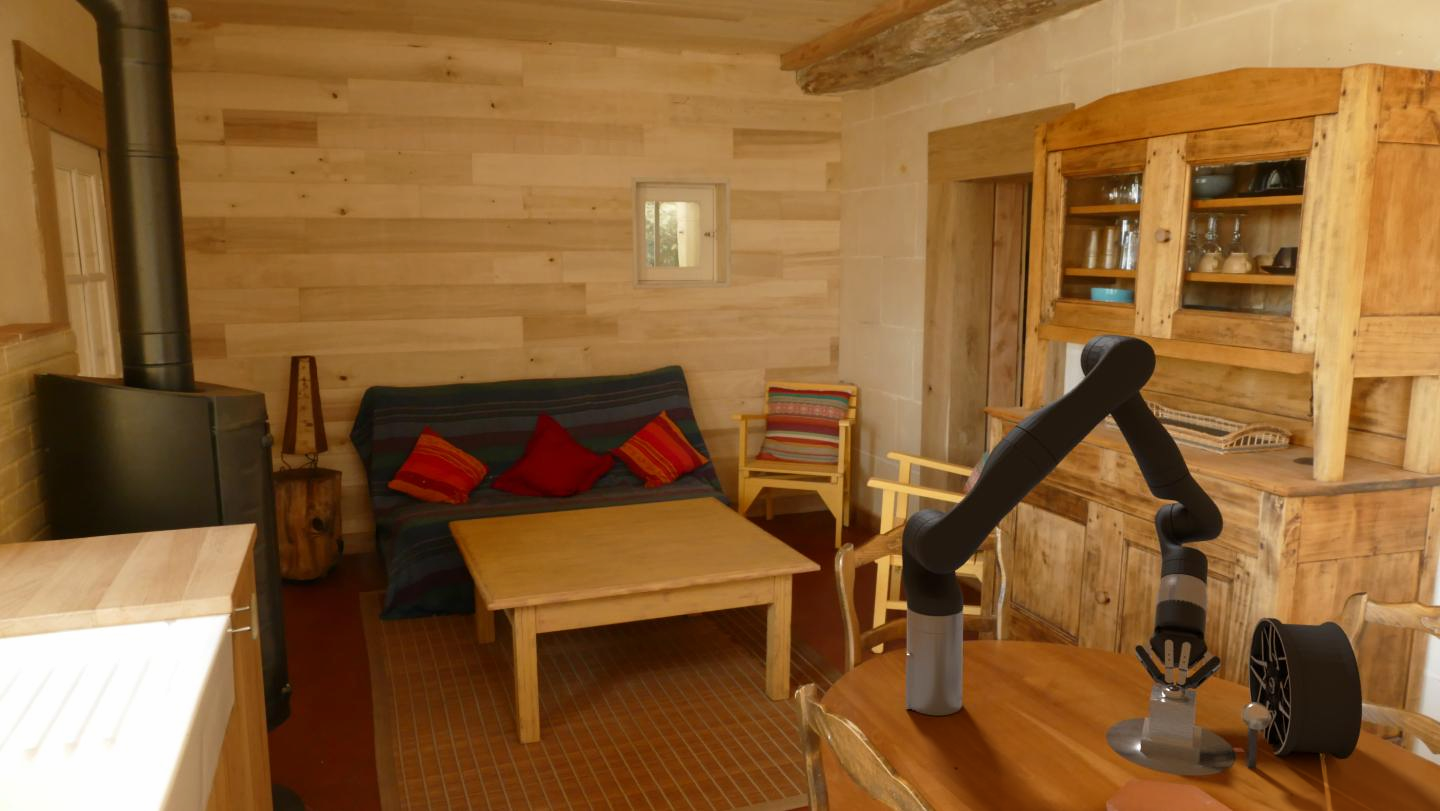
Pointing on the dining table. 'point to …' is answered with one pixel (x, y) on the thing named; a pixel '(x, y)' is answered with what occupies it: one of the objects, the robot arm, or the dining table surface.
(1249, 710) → the dial indicator post
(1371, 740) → the dining table surface
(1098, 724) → the dining table surface
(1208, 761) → the turntable
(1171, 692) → the cover
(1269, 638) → the wheel rim
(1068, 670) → the dining table surface
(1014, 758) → the dining table surface
